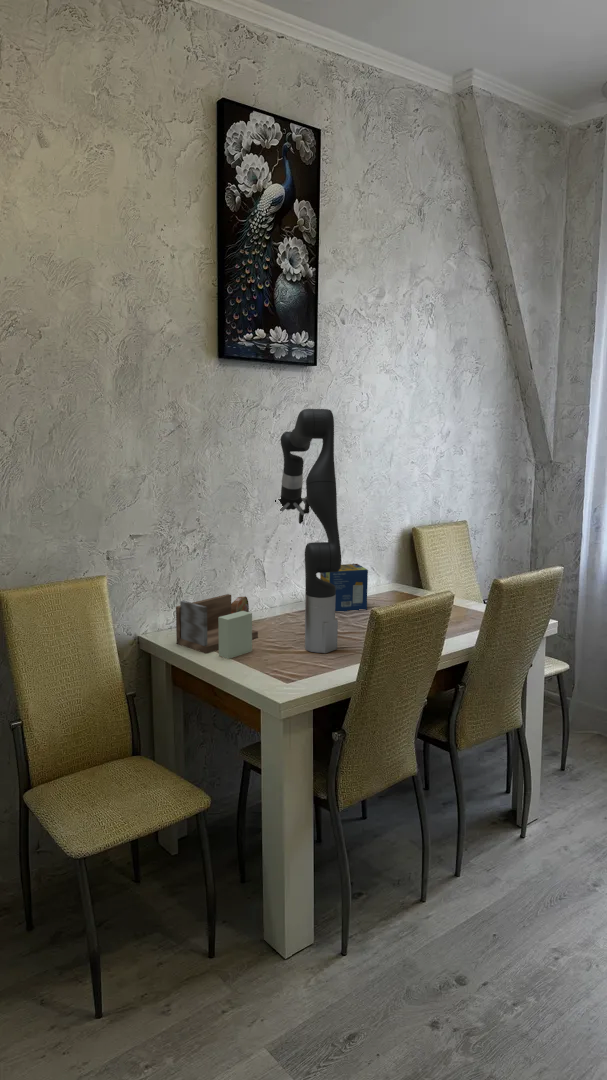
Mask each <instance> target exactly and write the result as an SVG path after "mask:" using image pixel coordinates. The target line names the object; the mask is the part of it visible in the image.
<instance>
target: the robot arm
mask: <svg viewBox="0 0 607 1080" xmlns="http://www.w3.org/2000/svg"><path fill="white" fill-rule="evenodd" d="M314 439H316V440H322V445H321V451H320V453H319V455H318V457H317V459H316V461H315V462H314V464H313V465H312V467H311V468H310V471H309V472H308V474H307V476H306V478H305V487H306V488H305V490H306V492H305V493H306V496H305V497H302V494H303V493H302V491H303V482H304V481H303V480H304V476H303V474H304V473H303V472H304V471H303V470H304V463H305V462H304V458H303V457H301V456H299V455H296V454H293V453H295V452H296V453H297V452H298V453H304V452H307V451H309V449H310V447H311V443H312V440H314ZM280 446H281V449H282V450H281V451H282V454H283V469H282V470H283V471H282V475H281V476H282V477H281V491H280V497H281V499H278V500H279V501H280V502H279V503H280V504H282V506H283V507H282V508H281V509H280V511H282V512H281V513H283V512H284V511H285V510H286V511H288V510H289V511H290V510H297V511H298V523H299V524H300V525H301V524H302V523H303V522H304V516H305V514H309V513H310V509H311V510H312V512H313V514H314V515H315V516H316V518H317V519H318V520H319V522H320V523H321V525H322V527H323V529H324V532H325V535H326V538H327V542H326V541H325V542H324V541H321V542H320V541H319V542H318V541H317V542H308V543H307V544H306V545H305V548H304V571H305V585H304V587H305V592H304V593H305V594H304V596H305V601H304V605H305V606H304V609H305V610H304V649H305V650H306V651H308V652H312V653H319V654H320V653H322V654H327V653H330V652H333V651H335V650H338V629H339V628H338V627H339V624H338V623H339V622H338V621H339V620H338V619H337V618H336V612H335V597H336V588H335V586H334V585H333V584H332V583H329V582H326V581H323V580H321V579H320V577H318V576H317V574H320V573H329V572H338V571H339V570H340V567H341V565H342V550H341V542H340V533H339V525H338V524H339V523H338V503H337V502H338V501H337V498H338V497H337V495H338V494H337V493H338V492H337V479H336V471H335V470H336V468H335V418H334V414H333V412H332V410H331V409H328V408H304V409H302V410H301V411H300V412H299V414H298V415H297V419H296V423H295V427H294V428H293V429H292V431H284V432H283V433H282V435H281V436H280ZM292 452H293V453H292ZM275 502H276V500H275ZM302 503H303V504H304V509H303V508H302V507H301V504H302Z"/></svg>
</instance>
